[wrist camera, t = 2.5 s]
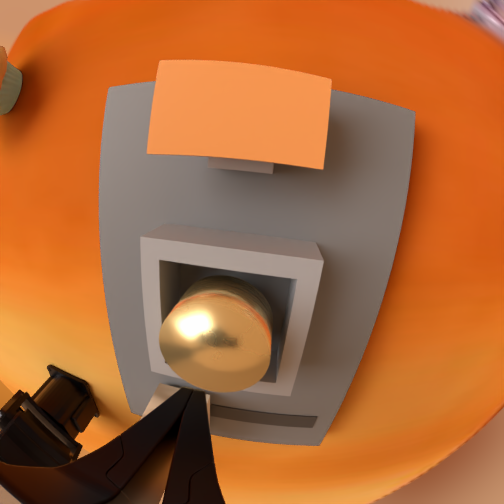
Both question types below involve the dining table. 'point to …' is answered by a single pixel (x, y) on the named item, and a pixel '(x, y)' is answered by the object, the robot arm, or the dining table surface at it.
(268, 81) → the rocker
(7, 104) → the cupcake
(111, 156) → the panel
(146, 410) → the tan rectangular prism
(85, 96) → the dining table surface
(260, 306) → the button
